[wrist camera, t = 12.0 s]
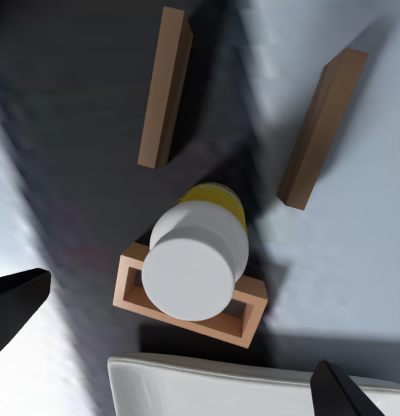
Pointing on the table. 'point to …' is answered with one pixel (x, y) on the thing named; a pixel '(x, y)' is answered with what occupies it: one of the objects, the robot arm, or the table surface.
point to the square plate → (221, 388)
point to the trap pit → (214, 327)
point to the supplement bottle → (197, 253)
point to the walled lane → (311, 129)
